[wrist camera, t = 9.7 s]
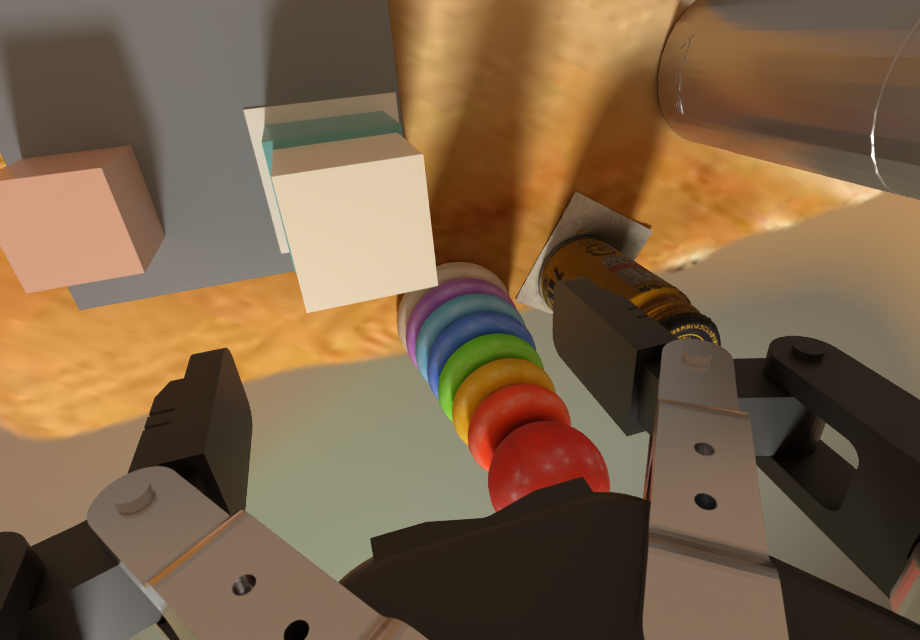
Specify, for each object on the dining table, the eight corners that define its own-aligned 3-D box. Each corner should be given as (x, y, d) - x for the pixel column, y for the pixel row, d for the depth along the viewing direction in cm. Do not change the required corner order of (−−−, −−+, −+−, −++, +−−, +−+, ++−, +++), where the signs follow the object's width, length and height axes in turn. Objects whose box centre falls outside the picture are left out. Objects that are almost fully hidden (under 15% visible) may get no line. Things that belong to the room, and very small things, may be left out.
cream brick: (397, 132, 23) (423, 153, 19) (412, 245, 26) (438, 285, 22) (272, 149, 22) (271, 176, 18) (302, 265, 25) (307, 312, 21)
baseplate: (377, -50, 25) (381, -53, 24) (413, 241, 33) (418, 248, 32) (-73, -26, 21) (-93, -29, 20) (86, 300, 29) (78, 310, 28)
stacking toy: (492, 240, 34) (673, 415, 19) (513, 337, 38) (675, 547, 23) (378, 281, 33) (468, 502, 17) (413, 376, 37) (510, 623, 22)
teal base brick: (382, 110, 27) (401, 124, 23) (397, 220, 30) (416, 249, 26) (264, 124, 26) (261, 142, 22) (292, 237, 29) (294, 272, 25)
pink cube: (131, 145, 25) (101, 167, 21) (165, 235, 27) (144, 272, 23) (21, 158, 24) (-33, 185, 20) (67, 251, 26) (26, 293, 22)
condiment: (514, 300, 37) (601, 399, 27) (574, 190, 34) (696, 254, 24) (589, 327, 40) (693, 425, 30) (650, 229, 38) (785, 300, 28)
